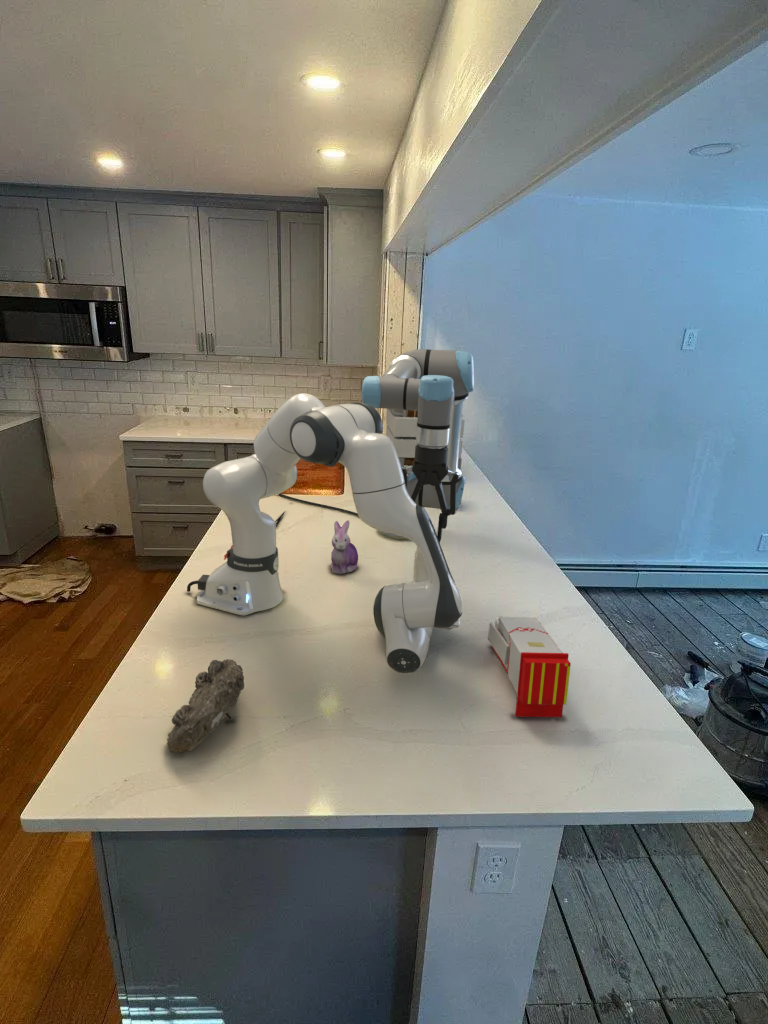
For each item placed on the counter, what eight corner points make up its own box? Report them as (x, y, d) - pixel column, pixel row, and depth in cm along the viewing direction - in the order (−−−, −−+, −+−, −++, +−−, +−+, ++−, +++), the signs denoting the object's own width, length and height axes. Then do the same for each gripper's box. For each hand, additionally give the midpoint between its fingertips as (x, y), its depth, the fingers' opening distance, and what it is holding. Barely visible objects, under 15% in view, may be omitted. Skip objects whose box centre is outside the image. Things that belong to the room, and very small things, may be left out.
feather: (291, 505, 226) (294, 501, 225) (275, 529, 199) (277, 524, 199) (288, 503, 226) (290, 499, 225) (270, 526, 199) (273, 522, 199)
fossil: (192, 660, 117) (244, 628, 112) (224, 691, 120) (276, 661, 115) (142, 746, 98) (202, 712, 93) (182, 779, 101) (242, 748, 96)
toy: (534, 602, 136) (579, 659, 107) (529, 653, 139) (572, 723, 110) (484, 601, 136) (516, 658, 107) (480, 652, 139) (510, 722, 109)
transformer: (382, 463, 289) (386, 382, 275) (445, 464, 293) (451, 384, 279) (390, 482, 257) (394, 392, 243) (460, 483, 261) (468, 394, 247)
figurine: (336, 577, 165) (336, 529, 160) (323, 563, 174) (323, 517, 169) (365, 572, 170) (367, 525, 164) (351, 558, 178) (352, 514, 173)
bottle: (408, 623, 144) (414, 536, 136) (412, 614, 148) (418, 530, 140) (425, 626, 142) (432, 539, 134) (429, 617, 146) (436, 532, 138)
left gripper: (460, 617, 128) (463, 589, 141) (371, 605, 131) (382, 579, 144) (457, 641, 130) (461, 611, 143) (370, 629, 133) (381, 601, 146)
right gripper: (474, 445, 131) (465, 537, 139) (393, 438, 135) (389, 528, 142) (473, 452, 124) (463, 549, 132) (387, 445, 128) (383, 539, 135)
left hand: (421, 595), depth 144 cm, fingers closed on bottle, 4 cm apart
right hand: (425, 538), depth 137 cm, fingers open, 6 cm apart
